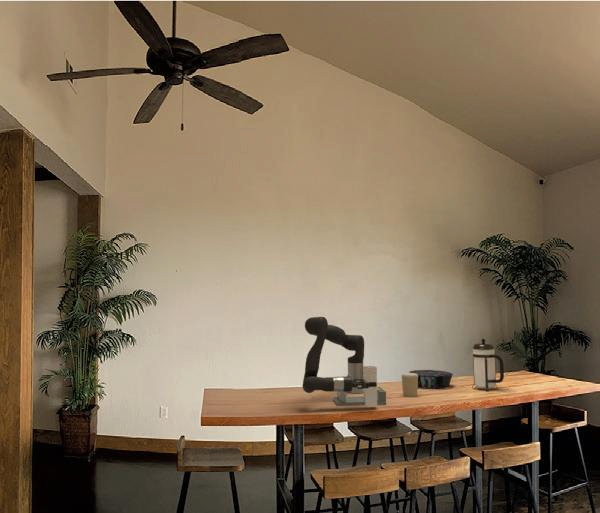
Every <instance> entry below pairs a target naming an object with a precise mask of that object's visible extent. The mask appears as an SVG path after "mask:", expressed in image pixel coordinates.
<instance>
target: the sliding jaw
mask: <svg viewBox="0 0 600 513" xmlns="http://www.w3.org/2000/svg"><path fill="white" fill-rule="evenodd" d="M336 397H337V398H338V399H339V401H340V402H346V397H347V392H336Z"/></svg>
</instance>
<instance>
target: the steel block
mask: <svg viewBox="0 0 600 513" xmlns="http://www.w3.org/2000/svg"><path fill="white" fill-rule="evenodd" d="M377 370H378V369H377V366H376V365H365V366H364V365H363V381H365V382H376V383H377V384H378V377H377V376H378V371H377ZM365 386H366V384H365ZM377 387H378V385H377V386H376V387H369V388H364V392H363V396H364V405H363V406H366V407H369V406H370V407H372V406H378V405H377Z"/></svg>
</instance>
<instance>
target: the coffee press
mask: <svg viewBox="0 0 600 513" xmlns="http://www.w3.org/2000/svg"><path fill="white" fill-rule="evenodd" d="M471 349H472V365H473V366H472V367H473V385H472V386H471V388H472V390H475V389H476V388H477V389H478V388H480V389H485V392H489V391H490V390H489V389H495V390H499V387H498V386H497V384H498V383H501V382H503V381H504V377H505V376H504V375H505V374H504V373H505V371H504V370H505V369H504V368H505V367H504V361H503V358H502V357H501V356H500V355H498V354H495V350H496V347H495V345H494V344H492V343H489V342H486V339H485V338H482V339H481V342H476V343H474V344H473V345H472V348H471ZM496 359H497V360H498V362H499V379H497V378H496V375H497V374H496ZM474 386H475V387H474Z"/></svg>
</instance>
